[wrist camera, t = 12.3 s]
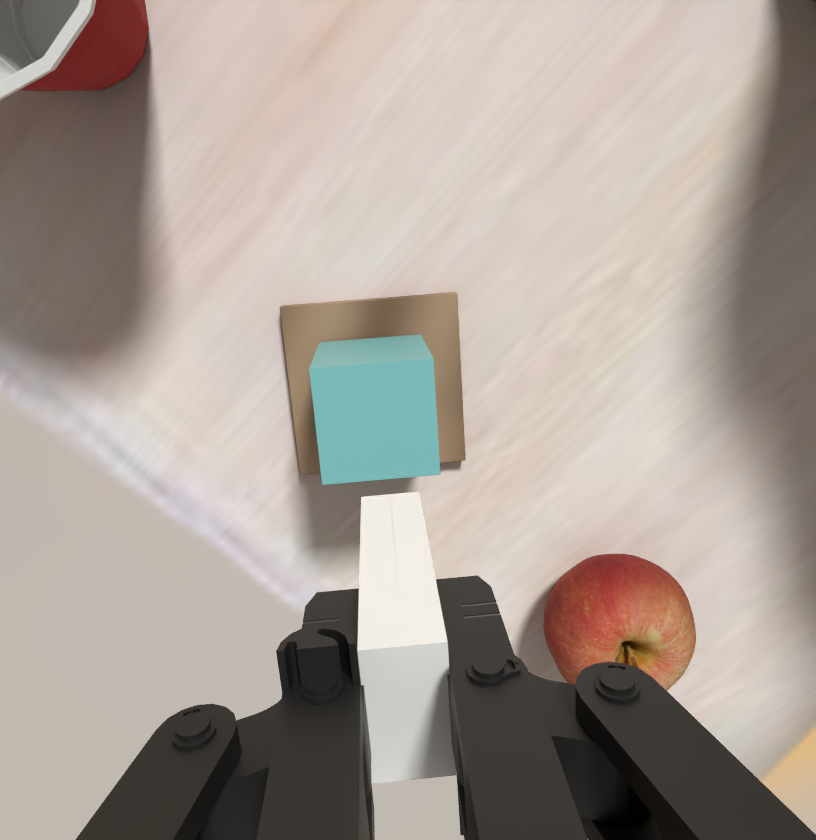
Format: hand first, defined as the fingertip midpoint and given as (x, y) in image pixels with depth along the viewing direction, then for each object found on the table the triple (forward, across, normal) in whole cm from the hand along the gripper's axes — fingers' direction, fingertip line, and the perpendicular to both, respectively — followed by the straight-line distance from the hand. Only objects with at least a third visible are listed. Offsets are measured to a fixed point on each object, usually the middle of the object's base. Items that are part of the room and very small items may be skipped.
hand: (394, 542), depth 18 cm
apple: (+20, -12, +14) cm, 27 cm away
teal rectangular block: (+18, 0, 0) cm, 18 cm away
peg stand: (+19, 0, 0) cm, 19 cm away
